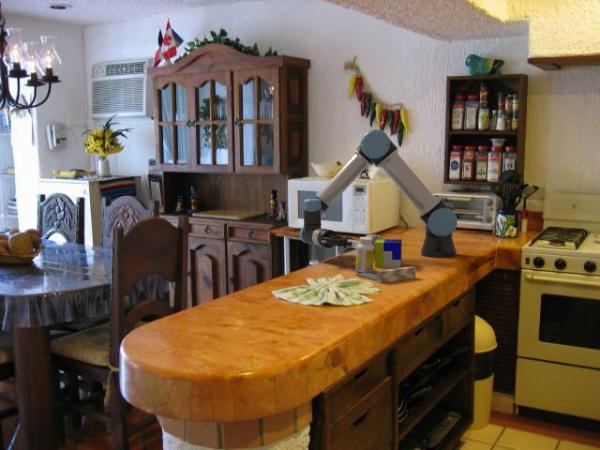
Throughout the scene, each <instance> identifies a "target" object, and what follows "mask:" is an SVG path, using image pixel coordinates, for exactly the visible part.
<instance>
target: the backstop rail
mask: <svg viewBox="0 0 600 450" xmlns="http://www.w3.org/2000/svg"><path fill="white" fill-rule="evenodd" d="M380 270H381V271H380ZM380 270H376V271H377V281H376V283H378V284H385V283H392V282H397V281H398V282H399V281H404V280H411V279H416V266H412V265H411V266H404V267H401V268H388V269H380Z"/></svg>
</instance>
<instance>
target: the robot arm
mask: <svg viewBox="0 0 600 450" xmlns="http://www.w3.org/2000/svg"><path fill="white" fill-rule="evenodd" d="M398 151H399V148H398V147H397V145H395V143H394V142H393V140H391V139H390V137H389V136H388V134H387V133H386V132H385V131H383V130H381V129H378V128H377V129H376V128H374V129H370V130H368V131H366V132H365V133H364V134H363V136H362V137H361V140H360V144H359V146H357V148H356V149H355V153H354V155H353V156H352V157H351V158H350V159H349V160H347V162H346V163H345V165H344V166H342V168H341V169H340V170H339V171H338V172H337V173H336V174H335V175H334V177H333V178H332V179H331V180H330V181H329V182H328V184H326V185H325V187H324V188H323V189H322V190H321V191H320V192H319V193H318V194H317V196H315V197H314V198H308V199H304V200H303V207H302V208H303V226H302V228H301V229H300V231H299V238H300V240H301V241H302V242H303V243H306V244H307V245H314V246H318V247H319V248H322V249H323V248H326V249H331V248H333V247H343V249H347V248H348V247H349V248H352V249H355V250H357V245H358V244H360V240H356V239H355V238H353V237H350V236H348V235H345V236H342V235H339V234H337V232H335V231H334V230H333V229H328V228H324V227H323V228H322V216H324V214H325V213H326V211H328V209H330V207H331V206H332V205H333V204H334V203H335V202H336V201H337V199H338V198H340V196H342V194H343V193H344V192H345V191H346V190H347V189H348V188H349V187H350V185H351V184H352V183H354V181H355V180H356V179H357V178H358V177H359V176H360V175H361V173H362V172H364V171H365V169H366V168H367V167H368V166H372V165H373V164H374V166H375V167H376V168H381V169H382V170H383V171H384V172H385V173H386V174H387V175H388V176H389V178H390V179H391V180H392V181H393V183H394V184H395V185H396V186H397V187H398V188H399V189H400V190H401V192H402V193H403V194H404V195H405V196H406V198H407V199H408V200H409V201H410V202H411V204H413V205H414V207H415V208H416V209H417V211H418V212H419V213H418V217H419V218H420V220H421V221H422V222H423V223H424V224H425V227H424V229H425V231H424V232H425V233H424V234H425V235H424V240H423V244H422V247H421V249H420V255H422V256H424V257H429V258H451V257H455V256H457V249H456V247H455V243H454V239H453V233H454V232H455V230H456V229H457V225H458V217H457V215H456V213H455V212H454V205H453V203H452V202H444V201H443V199H442V198H441V197H440V198H439V197H435V195H434V194H433V193H432V192H431V191H430V190H429V188H428V187H427V186H426V185H425V184H424V183H423V182H422V180H421V179H420V178H419V177H418V176H417V174H415V172H414V171H413V170H412V169H411V168H410V166H408V163H406V162H405V160H403V158H402V157H401V156H400V155H399V153H398Z"/></svg>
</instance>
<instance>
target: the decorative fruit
mask: <svg viewBox="0 0 600 450" xmlns="http://www.w3.org/2000/svg"><path fill="white" fill-rule="evenodd" d="M365 237H370V238H372V242H371V244H372V245H373V246H374V254H375V242H376V240H377V239H383V238H382V237H381V236H380V235H379V234H375V233H368V234H367V235H366V236H365Z"/></svg>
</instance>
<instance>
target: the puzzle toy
mask: <svg viewBox="0 0 600 450" xmlns="http://www.w3.org/2000/svg"><path fill="white" fill-rule="evenodd" d="M402 247H403V244H402V239H398V238H397V239H395V238H394V239H391V238H390V239H389V238H382V239H377V240H376V242H375V253H374V268H382V269H383V268H387V269H396V268H402V260H403V259H402V256H403V255H402Z"/></svg>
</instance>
